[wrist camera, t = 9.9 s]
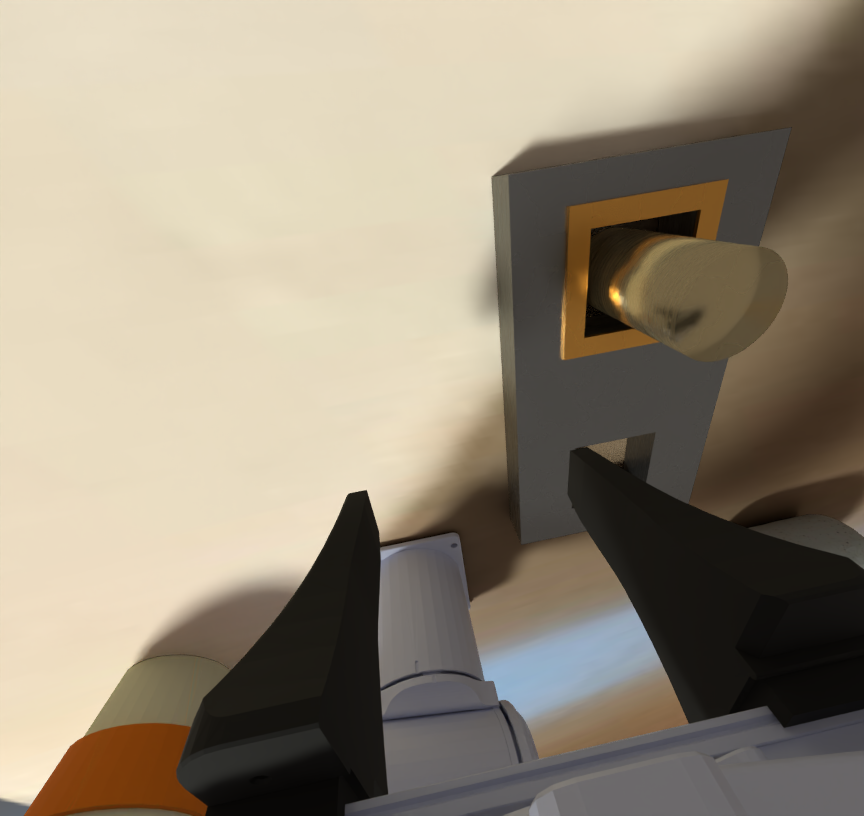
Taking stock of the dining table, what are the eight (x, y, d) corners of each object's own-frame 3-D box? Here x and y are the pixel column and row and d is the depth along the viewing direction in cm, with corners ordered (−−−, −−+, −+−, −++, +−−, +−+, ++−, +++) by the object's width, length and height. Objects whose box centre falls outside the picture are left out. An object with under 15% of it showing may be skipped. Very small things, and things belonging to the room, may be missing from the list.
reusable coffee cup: (136, 729, 36) (2, 1033, 23) (65, 657, 30) (-175, 1020, 17) (273, 705, 37) (219, 981, 24) (233, 631, 31) (131, 951, 18)
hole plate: (663, 486, 29) (688, 511, 27) (510, 518, 28) (522, 546, 26) (740, 135, 18) (796, 126, 15) (491, 176, 17) (509, 174, 15)
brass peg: (639, 299, 21) (767, 350, 14) (570, 312, 21) (666, 371, 14) (649, 220, 19) (804, 236, 12) (573, 234, 19) (686, 258, 12)
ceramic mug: (714, 516, 32) (804, 604, 25) (808, 494, 32) (922, 574, 25) (692, 590, 37) (761, 678, 31) (772, 571, 37) (858, 653, 31)
